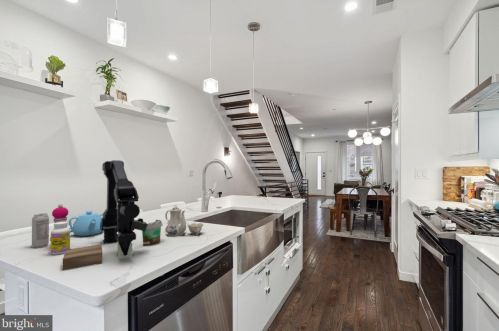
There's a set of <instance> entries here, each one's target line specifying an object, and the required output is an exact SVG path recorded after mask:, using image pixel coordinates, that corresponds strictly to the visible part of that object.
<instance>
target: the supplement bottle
mask: <svg viewBox="0 0 499 331" xmlns="http://www.w3.org/2000/svg"><path fill="white" fill-rule="evenodd" d="M68 226H69V221H66V222H57V223H55V222H54V223H53V229H52V230H51V231H50V237H51V241H50V254H51V255H53V256H58V255H64V254H65V252H66V250H67V249H71V233H70V231H71V229H70V227H68ZM54 227H55V228H54Z"/></svg>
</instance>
